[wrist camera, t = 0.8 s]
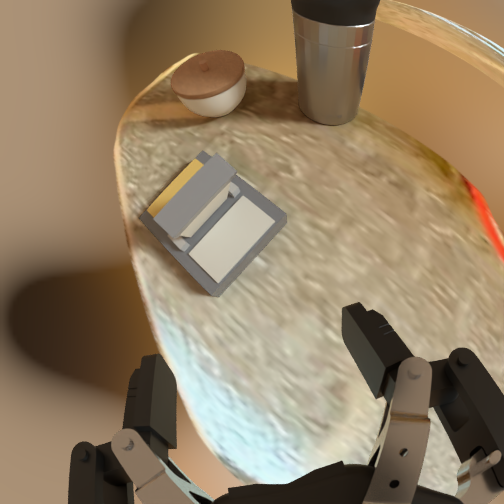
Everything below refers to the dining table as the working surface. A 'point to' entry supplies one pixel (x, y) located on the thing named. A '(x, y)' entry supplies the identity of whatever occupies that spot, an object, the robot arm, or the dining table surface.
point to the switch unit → (219, 231)
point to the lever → (197, 199)
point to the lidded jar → (211, 83)
